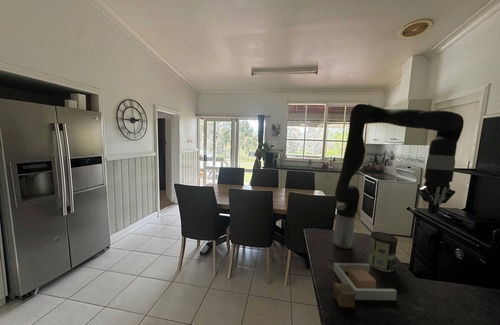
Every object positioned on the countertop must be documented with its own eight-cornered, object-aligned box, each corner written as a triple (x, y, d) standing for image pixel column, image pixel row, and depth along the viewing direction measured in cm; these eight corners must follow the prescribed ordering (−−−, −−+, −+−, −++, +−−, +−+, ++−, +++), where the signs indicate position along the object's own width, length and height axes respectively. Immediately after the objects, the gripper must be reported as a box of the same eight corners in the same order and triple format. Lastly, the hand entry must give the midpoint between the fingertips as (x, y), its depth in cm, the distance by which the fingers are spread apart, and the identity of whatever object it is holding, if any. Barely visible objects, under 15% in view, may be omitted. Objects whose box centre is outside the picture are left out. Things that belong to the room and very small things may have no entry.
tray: (333, 270, 88) (334, 262, 88) (367, 271, 89) (368, 263, 89) (354, 299, 72) (355, 290, 72) (395, 300, 73) (396, 291, 72)
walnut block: (333, 296, 73) (334, 283, 73) (346, 296, 74) (347, 283, 73) (340, 307, 68) (341, 293, 68) (354, 307, 69) (355, 294, 68)
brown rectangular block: (347, 278, 84) (348, 269, 84) (363, 278, 85) (364, 269, 84) (357, 290, 77) (359, 281, 77) (375, 290, 78) (376, 280, 77)
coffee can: (387, 260, 98) (391, 232, 97) (398, 273, 88) (402, 243, 87) (364, 257, 100) (367, 230, 99) (372, 269, 90) (376, 239, 89)
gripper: (446, 167, 77) (439, 210, 79) (413, 165, 77) (407, 209, 79) (468, 170, 70) (460, 218, 72) (431, 168, 69) (424, 216, 71)
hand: (432, 213), depth 75 cm, fingers closed
